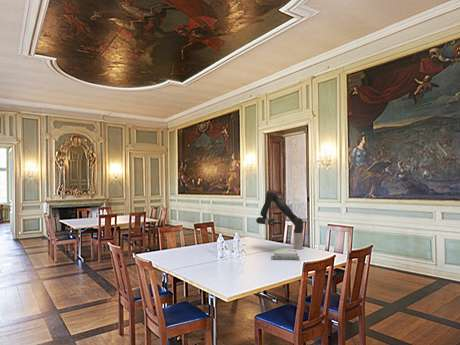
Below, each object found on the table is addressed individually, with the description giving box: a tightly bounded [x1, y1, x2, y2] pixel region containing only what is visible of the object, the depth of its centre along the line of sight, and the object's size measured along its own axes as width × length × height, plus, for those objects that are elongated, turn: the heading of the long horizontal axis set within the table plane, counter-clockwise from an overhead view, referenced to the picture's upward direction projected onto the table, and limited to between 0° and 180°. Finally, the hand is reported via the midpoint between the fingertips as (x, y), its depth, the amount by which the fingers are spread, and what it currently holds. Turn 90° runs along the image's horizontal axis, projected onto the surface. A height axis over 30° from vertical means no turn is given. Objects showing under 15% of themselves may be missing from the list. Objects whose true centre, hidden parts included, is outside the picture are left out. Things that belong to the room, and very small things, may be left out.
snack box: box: [273, 249, 299, 259], centre depth 302 cm, size 21×6×15 cm
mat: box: [270, 255, 301, 261], centre depth 301 cm, size 16×26×1 cm, turn 81°
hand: (281, 223), depth 324 cm, fingers closed
